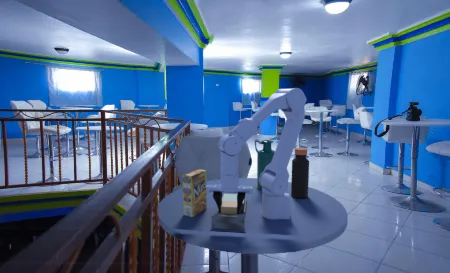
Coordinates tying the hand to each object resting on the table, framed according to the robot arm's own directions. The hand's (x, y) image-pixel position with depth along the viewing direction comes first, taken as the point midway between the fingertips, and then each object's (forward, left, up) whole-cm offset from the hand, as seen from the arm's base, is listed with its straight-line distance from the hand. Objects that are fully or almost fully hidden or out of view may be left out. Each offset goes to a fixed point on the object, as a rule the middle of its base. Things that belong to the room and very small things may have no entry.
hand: (229, 214), depth 92 cm
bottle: (-26, -30, -4) cm, 40 cm away
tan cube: (0, 0, -2) cm, 2 cm away
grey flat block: (0, -13, -2) cm, 14 cm away
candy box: (+13, -7, -4) cm, 15 cm away
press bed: (0, -7, -4) cm, 8 cm away
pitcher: (-12, -39, -4) cm, 41 cm away
